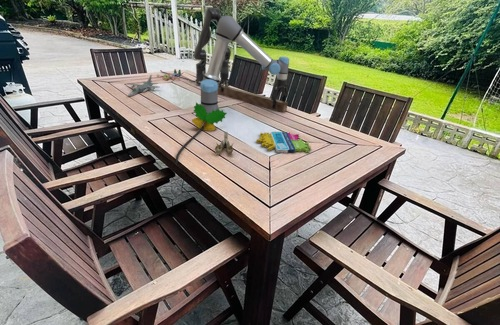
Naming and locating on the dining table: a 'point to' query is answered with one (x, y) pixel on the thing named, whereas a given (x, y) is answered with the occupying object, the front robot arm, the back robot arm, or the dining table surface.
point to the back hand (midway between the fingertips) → (224, 91)
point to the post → (253, 98)
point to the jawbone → (224, 145)
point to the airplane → (142, 87)
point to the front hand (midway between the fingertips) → (278, 106)
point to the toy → (171, 75)
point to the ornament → (207, 117)
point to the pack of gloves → (283, 142)
